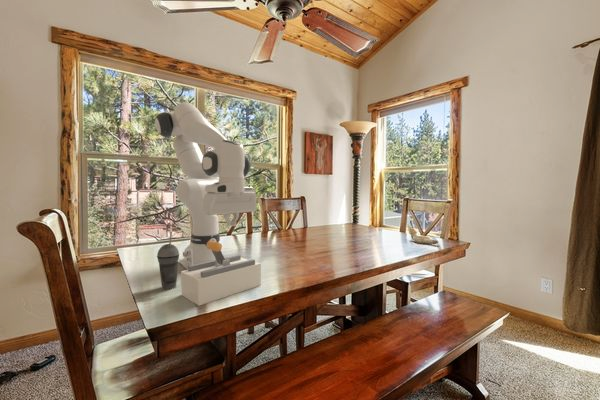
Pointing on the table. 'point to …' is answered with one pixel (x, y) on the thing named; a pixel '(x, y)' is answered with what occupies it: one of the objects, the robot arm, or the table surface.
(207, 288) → the box
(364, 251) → the table surface
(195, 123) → the robot arm
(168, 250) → the beverage cup
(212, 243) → the lever
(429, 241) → the lying animal figurine
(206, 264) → the grey slotted rail
